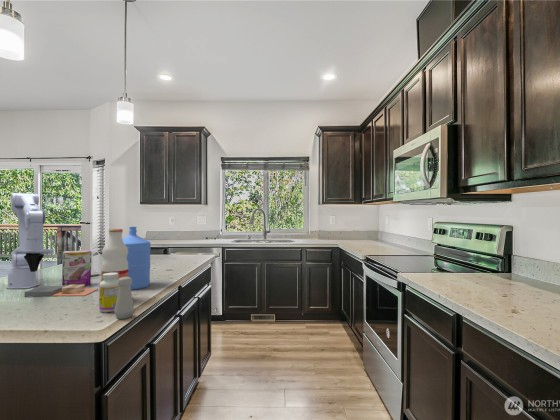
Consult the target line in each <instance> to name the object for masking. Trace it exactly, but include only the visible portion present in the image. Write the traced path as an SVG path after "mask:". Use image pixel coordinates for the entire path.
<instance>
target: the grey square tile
mask: <svg viewBox="0 0 560 420" xmlns="http://www.w3.org/2000/svg"><path fill="white" fill-rule="evenodd" d="M65 286H67V285H62V284H61V285H41V286H38V287H35V288H32V289H29V290H26V291H24V297H25V298H26V297H27V298H28V297H29V298H32V297H34V298H35V297H36V298H39V297H42V298H43V297H45V298H46V297H53V296H52V295H54V294H56V293H59V292H61V291H62V288H63V287H65Z"/></svg>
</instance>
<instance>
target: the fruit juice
mask: <svg viewBox="0 0 560 420" xmlns="http://www.w3.org/2000/svg"><path fill="white" fill-rule="evenodd" d="M123 230H124V229H123V228H109V229H108V234H109V237H108V240H107V243H106V244H105V245H104V246H103V248H102V251H101V255H102V258H103V261H102V262H101V267H100V271H101V272H100V273H101V275H100V276H101V277H100V280H101V281H100V283H101V282H102V281H104V279H103V274H105V273H118V277H117V280H118V279H119V278H122V277H128V261H127V255H128V248H127V246H126V245H125V244H124V242H123V240H122V239H123V235H122V234H123Z"/></svg>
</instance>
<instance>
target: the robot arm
mask: <svg viewBox="0 0 560 420" xmlns="http://www.w3.org/2000/svg"><path fill="white" fill-rule="evenodd" d="M39 203H40V196H39V194H38V193H21V192H20V193H19V192H12V193H11V194H10V208H11V212H12V213H14V214H16V216H17V225H18V227H17V228H18V245H19V246H18V247H16V248H15V249H13V250H12V253H11V259H10V260H11V266H12V268H10V269H9V271H8V273H7V287H6V289H13V290H14V289H31V288H34V287H37V286H40V285H41V283H36V278H37V277H36V274H37V273H36V272H37V271H38V269H39V266H40V264H41V261H42V260H43V259H44V257H45V255H53V254H54V253H55V249H53V248H51V249H50V248H43V247H44V225H45V223H46V212H45V210H41V208H40V206H39Z"/></svg>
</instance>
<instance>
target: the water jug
mask: <svg viewBox="0 0 560 420" xmlns="http://www.w3.org/2000/svg"><path fill="white" fill-rule="evenodd" d="M122 240H123V242H124V244H125V245H126V246H127V248H128V255H127V261H128V277H131V278H132V284H130V288H131V291H134V290H136V291H137V290H141V289H145V288H148V287H149V286H150V285H151V279H150V277H151V241H150V240H147V239H145V238H143V237H140V236H138V235H137V226H129V229H128V235H127V236H126V237H122Z"/></svg>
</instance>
